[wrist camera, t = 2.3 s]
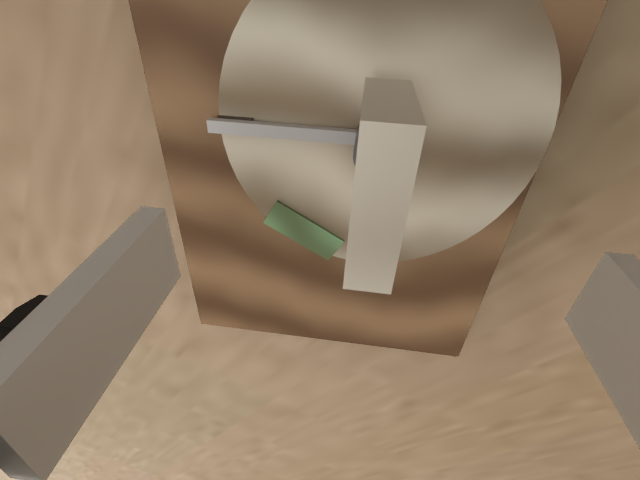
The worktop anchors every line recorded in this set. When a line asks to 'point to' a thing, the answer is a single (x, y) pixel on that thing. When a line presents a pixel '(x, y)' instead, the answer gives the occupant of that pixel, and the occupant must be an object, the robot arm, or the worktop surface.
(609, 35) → the worktop surface
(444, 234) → the tuner board
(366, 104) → the beige block with bar
